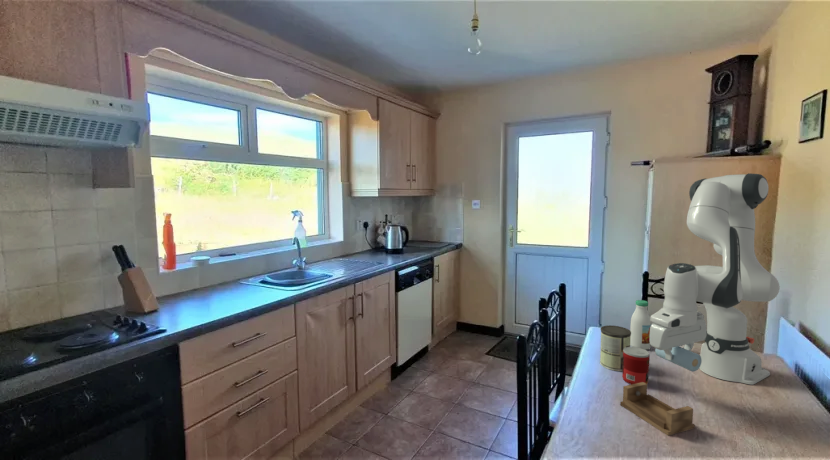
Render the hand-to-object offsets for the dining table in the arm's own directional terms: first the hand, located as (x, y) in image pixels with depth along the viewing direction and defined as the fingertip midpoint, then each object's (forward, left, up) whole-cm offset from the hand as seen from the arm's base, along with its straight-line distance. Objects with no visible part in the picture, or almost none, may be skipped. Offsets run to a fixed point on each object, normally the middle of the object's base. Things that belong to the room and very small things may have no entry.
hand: (677, 357), depth 121 cm
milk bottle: (-24, -35, -14) cm, 45 cm away
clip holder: (+15, +5, -14) cm, 21 cm away
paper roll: (0, 0, -2) cm, 2 cm away
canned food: (+3, -13, -14) cm, 19 cm away
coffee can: (0, -25, -14) cm, 29 cm away
